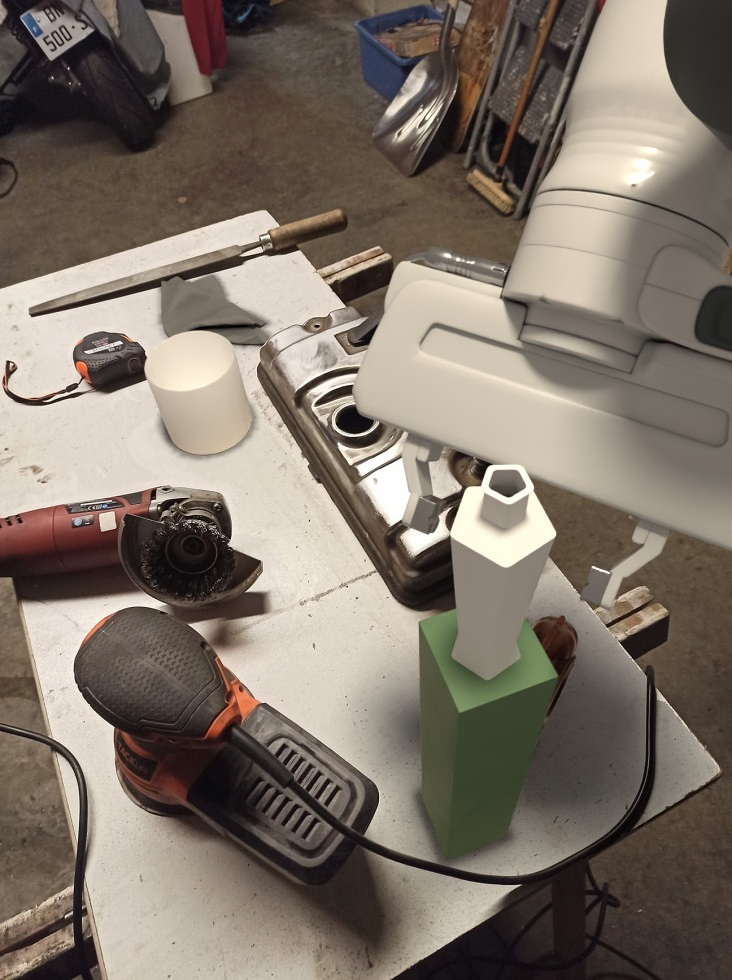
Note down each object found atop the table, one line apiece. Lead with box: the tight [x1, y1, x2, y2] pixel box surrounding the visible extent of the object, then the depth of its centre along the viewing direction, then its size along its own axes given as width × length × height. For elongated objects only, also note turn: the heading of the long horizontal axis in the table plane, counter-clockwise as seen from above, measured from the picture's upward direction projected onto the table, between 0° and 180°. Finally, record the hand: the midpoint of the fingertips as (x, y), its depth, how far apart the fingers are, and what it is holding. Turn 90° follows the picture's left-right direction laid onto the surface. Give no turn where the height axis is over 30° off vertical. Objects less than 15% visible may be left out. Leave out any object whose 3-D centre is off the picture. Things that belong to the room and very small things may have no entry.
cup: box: [143, 331, 253, 456], centre depth 99 cm, size 12×12×12 cm
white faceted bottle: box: [449, 464, 557, 680], centre depth 36 cm, size 5×4×15 cm
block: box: [418, 608, 558, 862], centre depth 56 cm, size 6×6×35 cm
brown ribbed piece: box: [532, 614, 579, 740], centre depth 70 cm, size 11×5×15 cm, turn 147°
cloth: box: [160, 274, 270, 345], centre depth 118 cm, size 26×14×2 cm, turn 36°
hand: (502, 564), depth 37 cm, fingers open, 8 cm apart
